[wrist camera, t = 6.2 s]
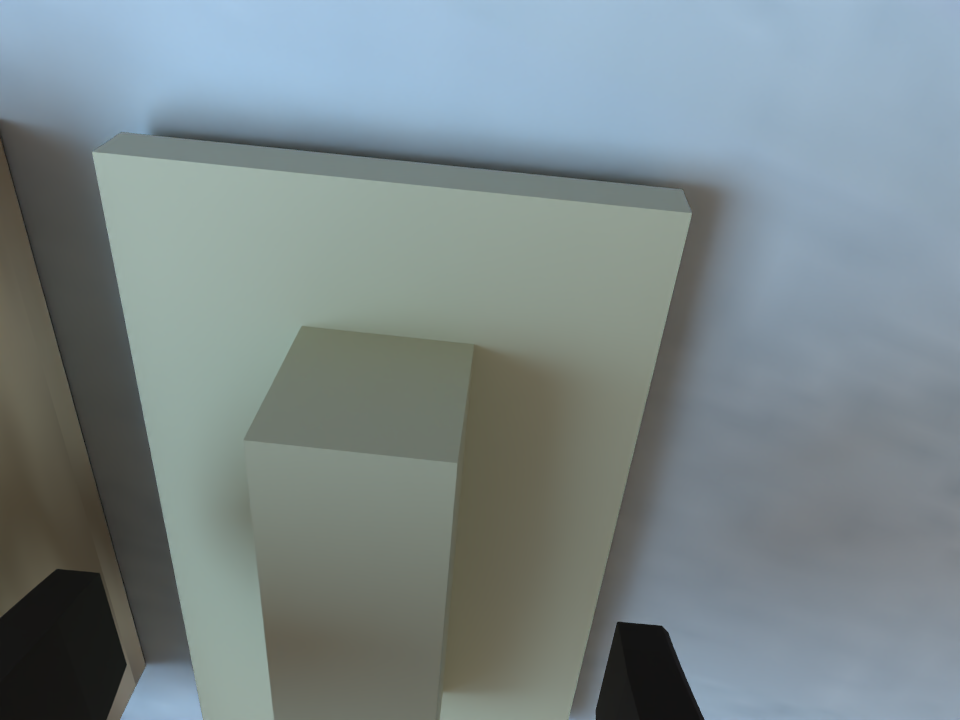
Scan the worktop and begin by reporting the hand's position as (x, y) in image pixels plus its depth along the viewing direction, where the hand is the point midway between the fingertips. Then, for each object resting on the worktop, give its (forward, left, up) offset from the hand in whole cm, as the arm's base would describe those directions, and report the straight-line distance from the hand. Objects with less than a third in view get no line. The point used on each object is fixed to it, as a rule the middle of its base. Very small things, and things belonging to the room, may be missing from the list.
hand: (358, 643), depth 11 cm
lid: (0, 0, -3) cm, 3 cm away
